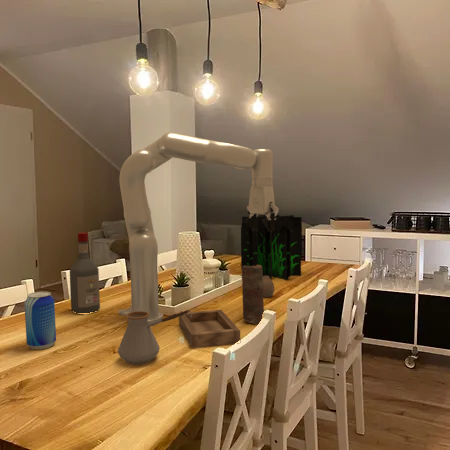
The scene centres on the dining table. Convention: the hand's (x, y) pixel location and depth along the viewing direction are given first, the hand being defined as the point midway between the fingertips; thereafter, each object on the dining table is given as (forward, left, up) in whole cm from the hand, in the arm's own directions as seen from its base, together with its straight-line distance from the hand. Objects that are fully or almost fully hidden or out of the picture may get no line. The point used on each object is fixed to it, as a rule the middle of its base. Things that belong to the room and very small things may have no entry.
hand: (262, 229), depth 179 cm
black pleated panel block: (+26, +61, -31) cm, 74 cm away
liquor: (-64, +19, -31) cm, 74 cm away
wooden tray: (-25, -20, -31) cm, 44 cm away
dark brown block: (-7, -12, -31) cm, 34 cm away
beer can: (-76, -17, -31) cm, 84 cm away
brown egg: (+9, +20, -31) cm, 38 cm away
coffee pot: (-44, -39, -31) cm, 66 cm away
